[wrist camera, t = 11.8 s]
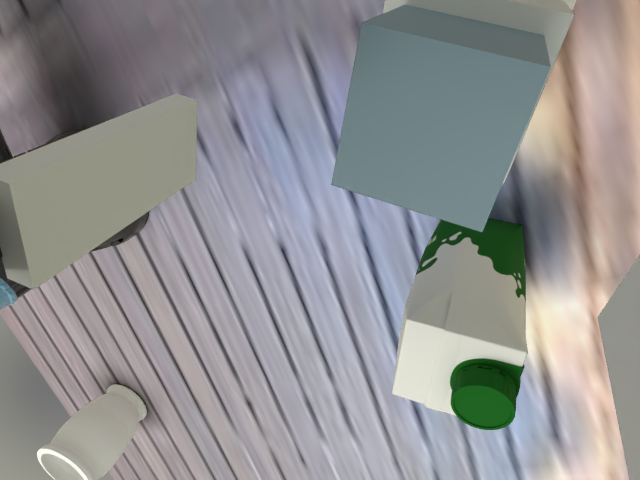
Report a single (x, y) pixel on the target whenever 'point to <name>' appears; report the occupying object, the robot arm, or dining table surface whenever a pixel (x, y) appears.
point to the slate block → (437, 111)
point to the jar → (94, 436)
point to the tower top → (508, 20)
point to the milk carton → (466, 325)
